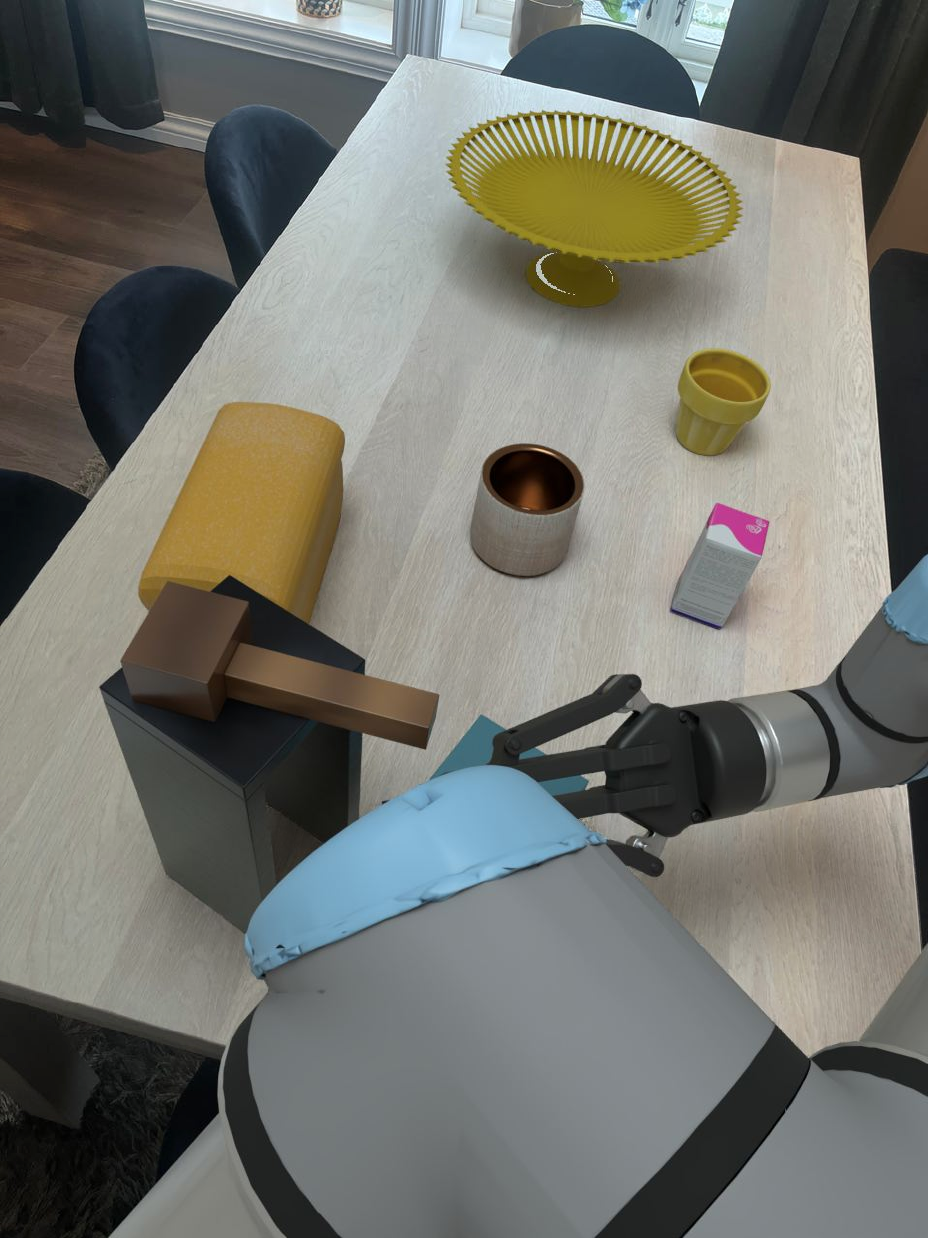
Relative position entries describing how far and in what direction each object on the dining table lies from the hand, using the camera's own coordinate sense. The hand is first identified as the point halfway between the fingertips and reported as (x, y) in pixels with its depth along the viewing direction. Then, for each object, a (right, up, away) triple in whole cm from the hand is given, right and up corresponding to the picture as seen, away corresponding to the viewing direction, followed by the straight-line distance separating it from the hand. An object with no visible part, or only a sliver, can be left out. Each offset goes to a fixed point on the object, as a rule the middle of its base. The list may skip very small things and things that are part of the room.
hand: (388, 816), depth 53 cm
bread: (-17, +15, +41) cm, 46 cm away
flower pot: (+34, +34, +63) cm, 79 cm away
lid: (+7, -3, +20) cm, 21 cm away
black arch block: (-12, -8, +23) cm, 27 cm away
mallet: (-6, +7, +1) cm, 9 cm away
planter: (+10, +20, +48) cm, 53 cm away
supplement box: (+30, +13, +46) cm, 56 cm away
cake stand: (+20, +61, +82) cm, 104 cm away
